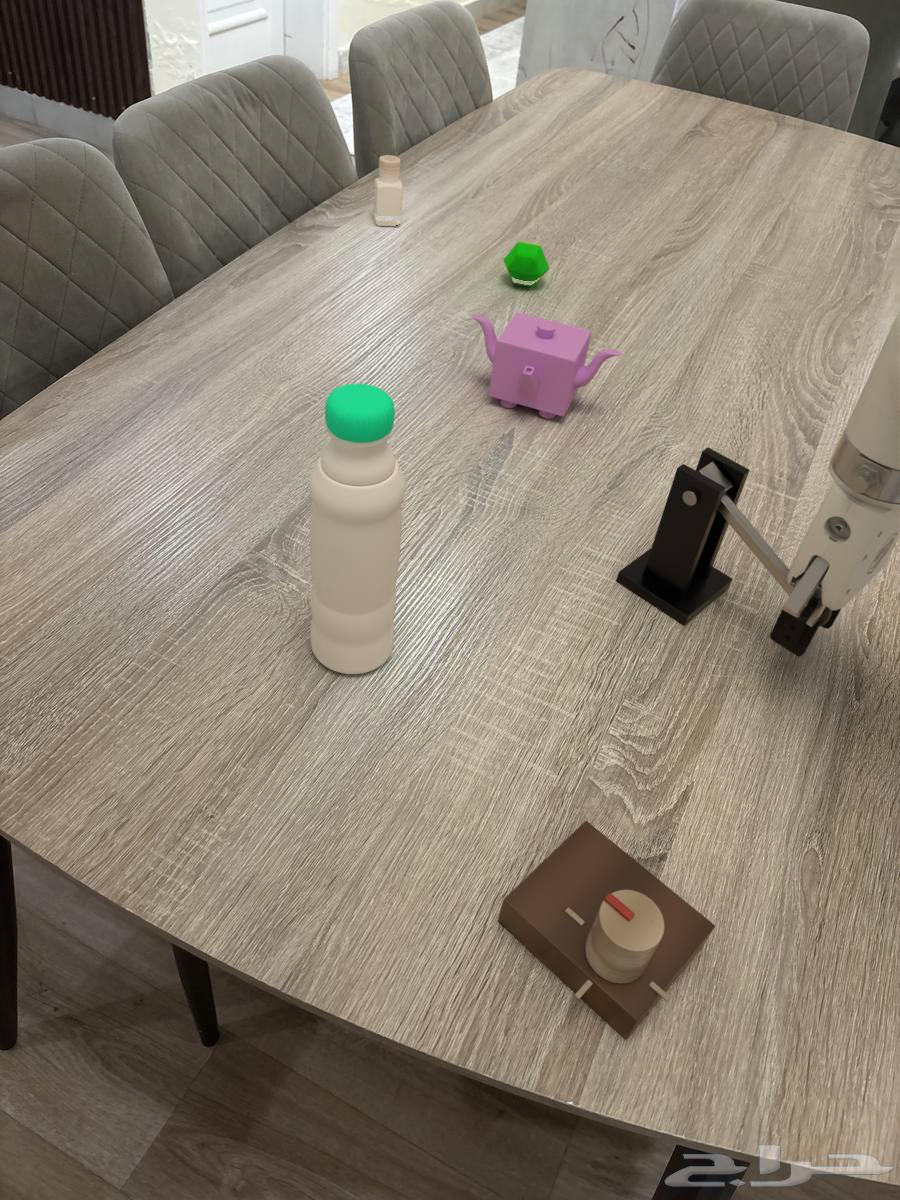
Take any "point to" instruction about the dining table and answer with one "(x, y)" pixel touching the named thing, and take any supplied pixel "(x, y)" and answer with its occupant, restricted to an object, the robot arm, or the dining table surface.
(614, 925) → the tap knob
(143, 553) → the dining table surface
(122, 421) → the dining table surface
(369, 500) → the water bottle
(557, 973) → the tap panel
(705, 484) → the black lever stand
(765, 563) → the faucet lever
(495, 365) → the teapot
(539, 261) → the green faceted polyhedron
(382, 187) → the salt shaker
